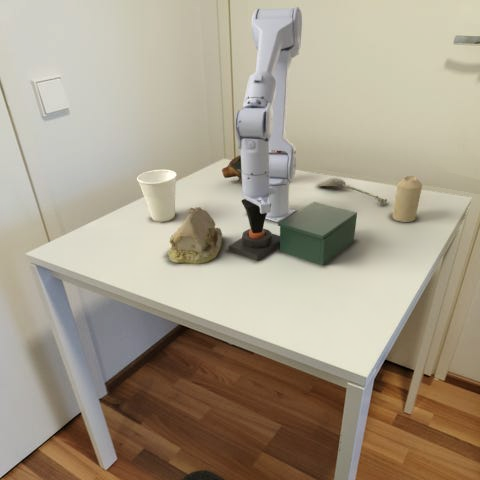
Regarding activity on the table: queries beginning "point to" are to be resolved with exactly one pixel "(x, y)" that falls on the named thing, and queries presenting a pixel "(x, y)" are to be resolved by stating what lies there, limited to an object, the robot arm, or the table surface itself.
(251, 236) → the button
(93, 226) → the table surface
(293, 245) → the box
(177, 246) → the ceramic model
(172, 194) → the cup
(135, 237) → the table surface
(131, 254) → the table surface
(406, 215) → the candle
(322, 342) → the table surface
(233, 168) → the decorative turtle
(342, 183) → the soupspoon
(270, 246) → the switch block
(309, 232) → the lid
